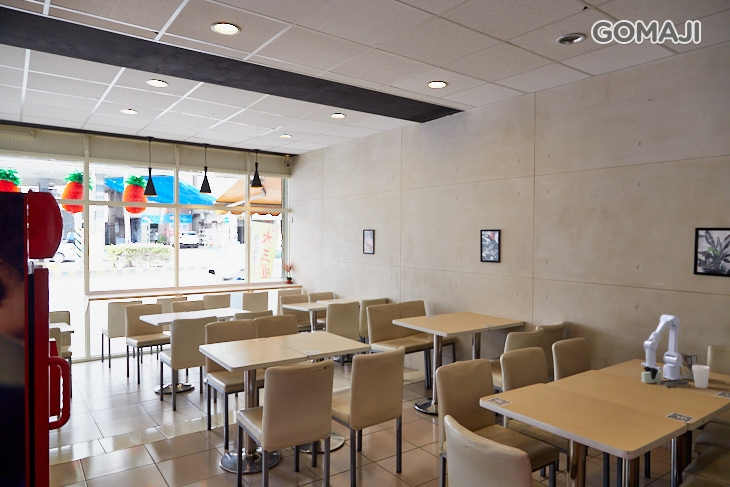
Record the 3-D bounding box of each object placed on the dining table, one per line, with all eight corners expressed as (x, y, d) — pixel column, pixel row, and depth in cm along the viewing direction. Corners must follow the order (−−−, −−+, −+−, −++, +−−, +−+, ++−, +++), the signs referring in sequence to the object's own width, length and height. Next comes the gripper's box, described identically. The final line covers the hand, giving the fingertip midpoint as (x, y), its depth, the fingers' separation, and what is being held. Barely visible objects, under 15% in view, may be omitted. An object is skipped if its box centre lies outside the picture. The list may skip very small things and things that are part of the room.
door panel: (641, 382, 314) (641, 372, 315) (658, 380, 318) (658, 370, 318) (644, 383, 312) (644, 373, 312) (661, 381, 315) (661, 371, 315)
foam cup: (710, 389, 295) (709, 369, 296) (692, 387, 301) (691, 367, 301) (710, 385, 303) (709, 366, 303) (693, 383, 309) (692, 364, 309)
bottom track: (656, 384, 310) (656, 380, 310) (678, 381, 314) (678, 378, 314) (668, 388, 301) (668, 384, 301) (690, 385, 305) (690, 381, 305)
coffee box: (698, 378, 320) (697, 355, 320) (693, 380, 317) (692, 356, 318) (684, 375, 328) (683, 352, 329) (679, 376, 326) (678, 354, 326)
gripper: (637, 356, 321) (638, 376, 321) (654, 361, 307) (655, 381, 307) (645, 355, 323) (646, 375, 323) (663, 360, 309) (664, 380, 309)
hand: (651, 378), depth 315 cm, fingers closed on door panel, 2 cm apart
